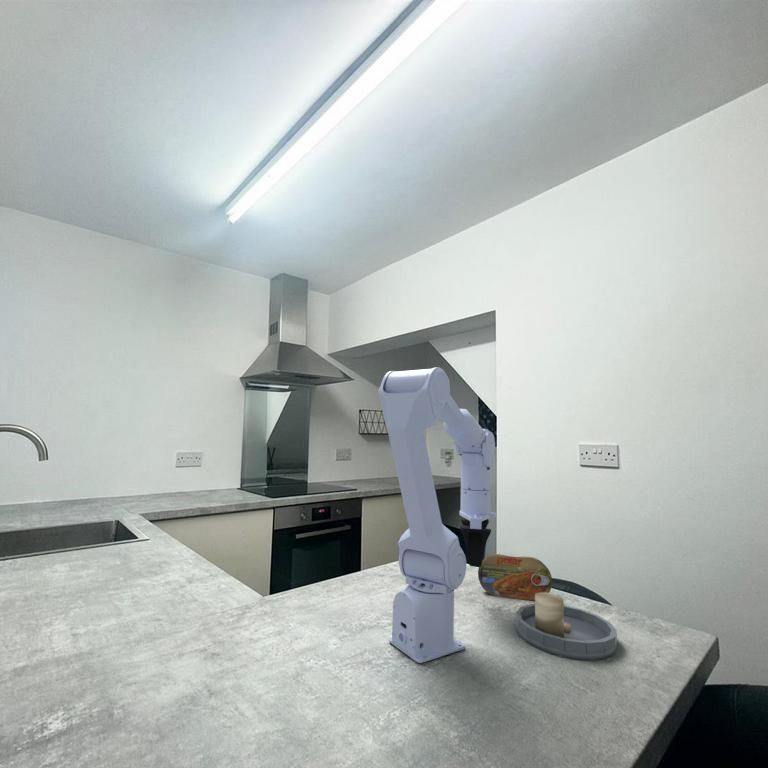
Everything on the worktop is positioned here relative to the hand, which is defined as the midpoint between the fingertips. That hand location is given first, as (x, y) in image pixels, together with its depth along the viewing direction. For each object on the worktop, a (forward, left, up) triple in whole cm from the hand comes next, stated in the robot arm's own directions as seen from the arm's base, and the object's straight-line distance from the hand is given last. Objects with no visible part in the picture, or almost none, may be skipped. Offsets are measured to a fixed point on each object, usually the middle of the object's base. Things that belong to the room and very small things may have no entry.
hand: (474, 560), depth 82 cm
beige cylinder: (+2, -15, -8) cm, 17 cm away
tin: (+14, +2, -10) cm, 17 cm away
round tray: (+6, -15, -9) cm, 19 cm away
